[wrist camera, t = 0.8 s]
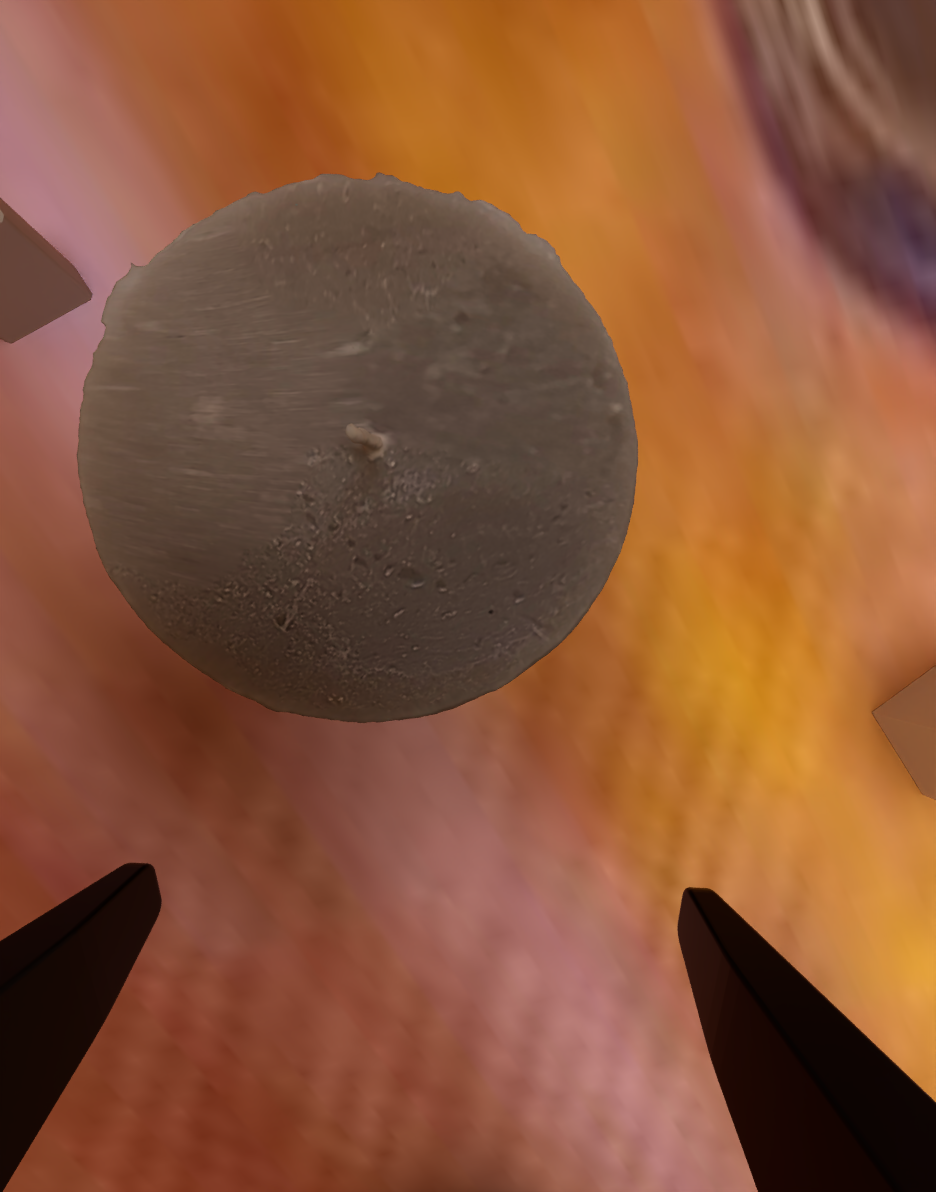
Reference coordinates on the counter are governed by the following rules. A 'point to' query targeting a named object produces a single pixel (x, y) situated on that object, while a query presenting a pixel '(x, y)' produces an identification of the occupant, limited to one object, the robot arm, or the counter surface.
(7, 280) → the lighter
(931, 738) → the block
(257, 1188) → the counter surface
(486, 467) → the pillar candle
